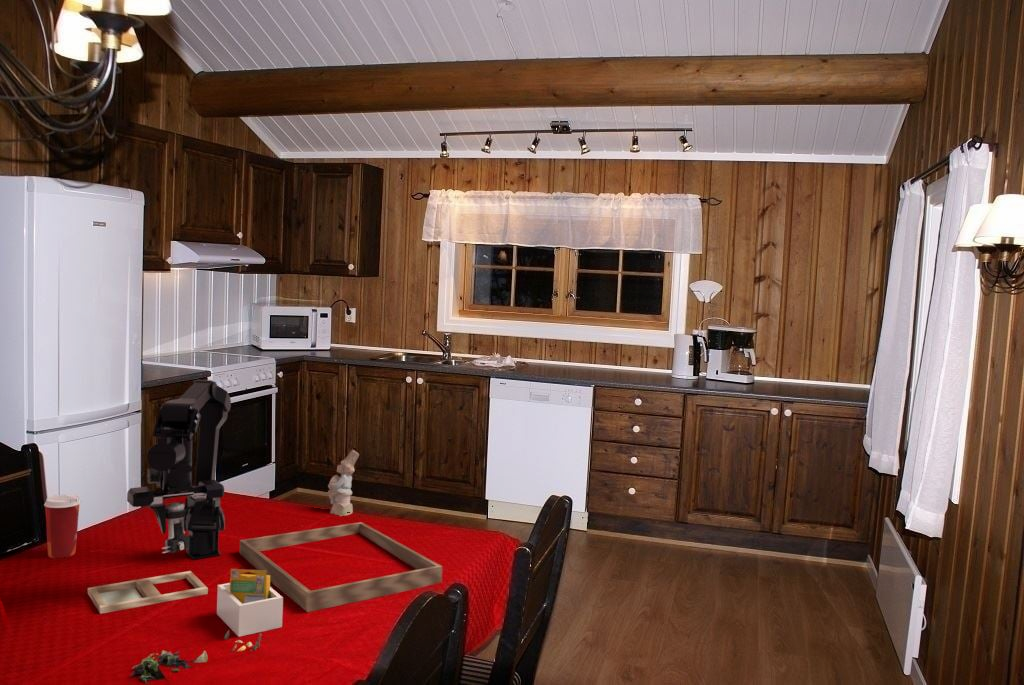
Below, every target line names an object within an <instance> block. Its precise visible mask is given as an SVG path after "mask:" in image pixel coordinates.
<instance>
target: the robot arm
mask: <svg viewBox="0 0 1024 685" xmlns="http://www.w3.org/2000/svg"><path fill="white" fill-rule="evenodd" d="M231 408H232V400H231V397H230V394H229V393H228V391H227V390H226V389H224V388H222V387H221V386H219V385H218V384H217V382H216V381H214V380H212V379H209V380H208V379H196V380H192V383H191V386H189V388H188V389H187V390H186V391H185V392H184V393H183V394H182V395H181V396H180V397H179V398H175V399H170V400H167V401H165V402H164V403H163V404H162V405H161V407H160V408H159V409H158V412H157V416H156V420H155V424H154V427H153V431H152V437H153V438H157V443H156V444H154V445H153V446H151V447H150V449H149V450H148V452H147V455H146V456H147V457H146V458H147V459H146V460H147V463H148V465H149V466H150V468H148V469H146V471H147V473H146V479H147V480H146V481H147V484H156V488H160V489H156V490H152V489H151V488H150V487H148V486H139V487H130V488H129V489H128V491H127V493H126V501H127V502H128V503H129V504H130V506H132V507H134V508H137V507H138V508H139V507H147V508H149V509H150V510H152V511H153V512H154V514H155V517H156V519H157V522H158V525H159V528H160V531H161V533H162V534H163V535H166V532H167V531H166V529H167V518H166V508H167V507H166V506H167V504H165V503H164V502H163V501H164V500H163V499H171V498H181V497H186V498H185V501H184V506H188V507H189V510H188V515H187V516H185V517H184V532H188V536H189V547H188V548H185V553H186V554H187V555H188V556H189V557H190V558H192V559H193V560H197V559H203V558H205V559H206V558H210V557H216V556H217V557H218V556H221V551H220V550H219V539H220V538H219V535H220V534H219V533H220V532H221V531H224V530H225V529H226V521H225V520H226V517H225V515H224V512H223V509H222V507H221V498H224V496H225V486H224V485H223V484H222V483H221V482H219V481H218V480H216V474H217V473H216V471H217V470H216V469H217V463H218V462H217V460H218V449H219V447H218V446H219V437H220V429H221V427H222V426H223V425H224V423H225V422H226V421H227V420H228V414H229V412H230V410H231ZM198 427H199V430H198ZM197 432H198V443H197V444H198V445H197V452H196V464H195V476H194V486H193V484H192V472H194V467H193V466H192V465H193V436H194V434H197Z"/></svg>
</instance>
